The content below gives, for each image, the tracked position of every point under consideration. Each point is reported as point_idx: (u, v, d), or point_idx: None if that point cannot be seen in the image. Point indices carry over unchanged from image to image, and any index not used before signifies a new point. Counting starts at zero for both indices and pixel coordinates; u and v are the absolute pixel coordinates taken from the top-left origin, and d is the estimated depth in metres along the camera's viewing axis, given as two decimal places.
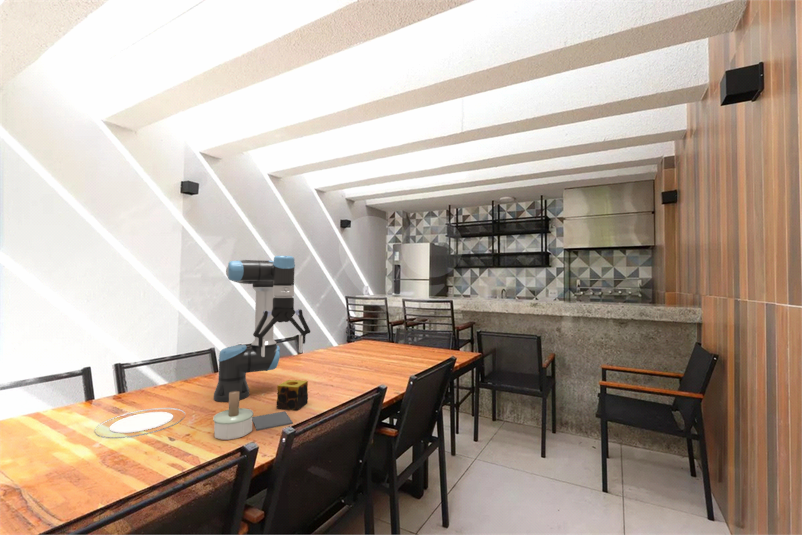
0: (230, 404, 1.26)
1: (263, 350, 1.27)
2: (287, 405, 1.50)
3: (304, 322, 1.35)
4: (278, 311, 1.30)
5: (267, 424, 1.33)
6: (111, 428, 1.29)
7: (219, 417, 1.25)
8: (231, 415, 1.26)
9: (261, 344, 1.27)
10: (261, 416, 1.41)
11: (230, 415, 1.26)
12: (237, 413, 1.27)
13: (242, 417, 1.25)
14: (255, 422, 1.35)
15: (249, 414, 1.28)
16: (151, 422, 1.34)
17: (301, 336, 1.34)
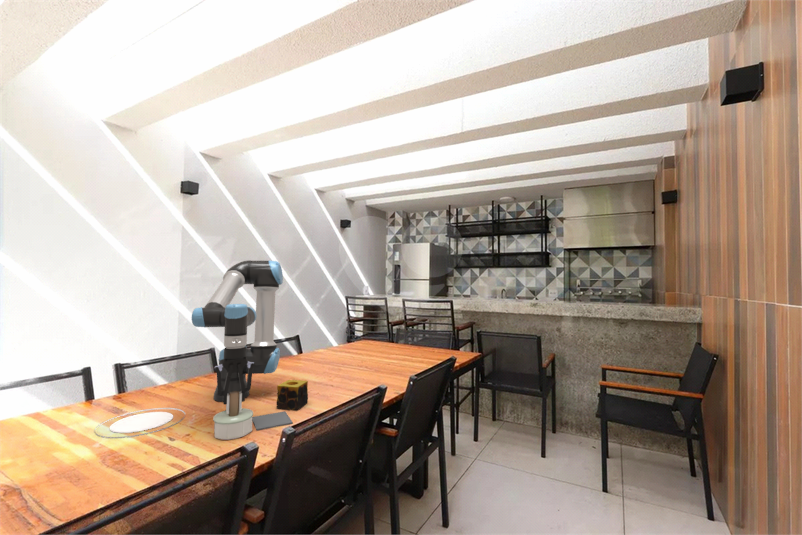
0: (230, 404, 1.26)
1: (227, 407, 1.26)
2: (287, 405, 1.50)
3: (250, 377, 1.30)
4: (228, 361, 1.26)
5: (267, 424, 1.33)
6: (111, 428, 1.29)
7: (219, 417, 1.25)
8: (231, 415, 1.26)
9: (225, 401, 1.26)
10: (261, 416, 1.41)
11: (230, 415, 1.26)
12: (237, 413, 1.27)
13: (242, 417, 1.25)
14: (255, 422, 1.35)
15: (249, 414, 1.28)
16: (151, 422, 1.34)
17: (240, 394, 1.28)
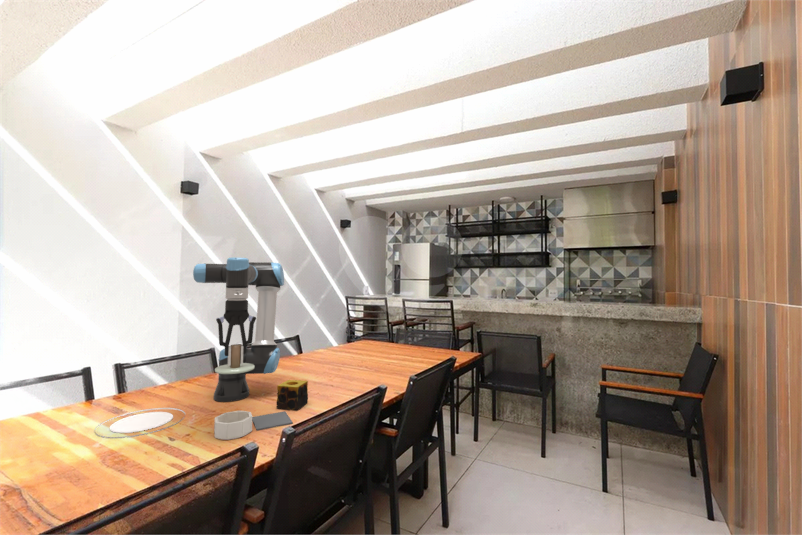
0: (232, 356, 1.27)
1: (229, 359, 1.26)
2: (287, 405, 1.50)
3: (251, 330, 1.30)
4: (229, 313, 1.27)
5: (267, 424, 1.33)
6: (111, 428, 1.29)
7: (221, 368, 1.26)
8: (233, 367, 1.27)
9: (227, 353, 1.27)
10: (261, 416, 1.41)
11: (232, 367, 1.27)
12: (238, 365, 1.28)
13: (243, 369, 1.26)
14: (255, 422, 1.35)
15: (250, 367, 1.29)
16: (151, 422, 1.34)
17: (241, 347, 1.28)
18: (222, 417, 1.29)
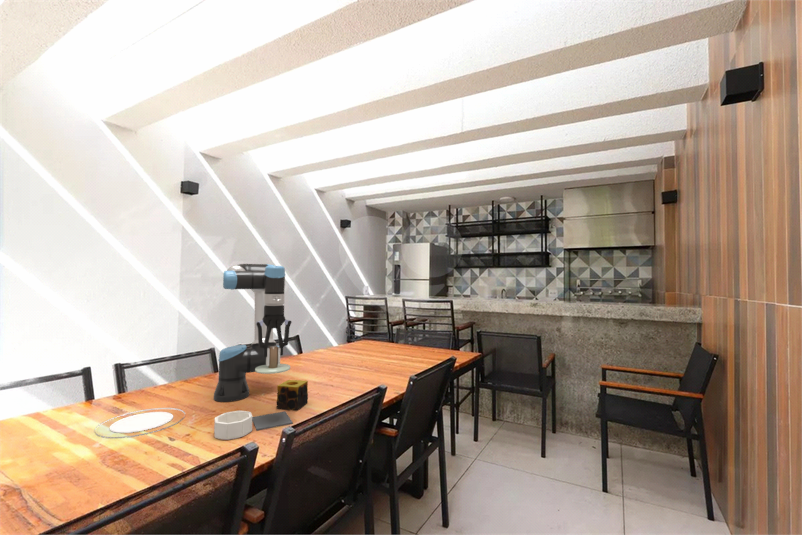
0: (270, 357, 1.37)
1: (268, 360, 1.37)
2: (287, 405, 1.50)
3: (287, 333, 1.41)
4: (268, 317, 1.37)
5: (267, 424, 1.33)
6: (111, 428, 1.29)
7: (260, 369, 1.36)
8: (271, 367, 1.37)
9: (266, 354, 1.37)
10: (261, 416, 1.41)
11: (270, 367, 1.37)
12: (276, 366, 1.38)
13: (281, 369, 1.36)
14: (255, 422, 1.35)
15: (287, 367, 1.39)
16: (151, 422, 1.34)
17: (279, 348, 1.39)
18: (222, 417, 1.29)
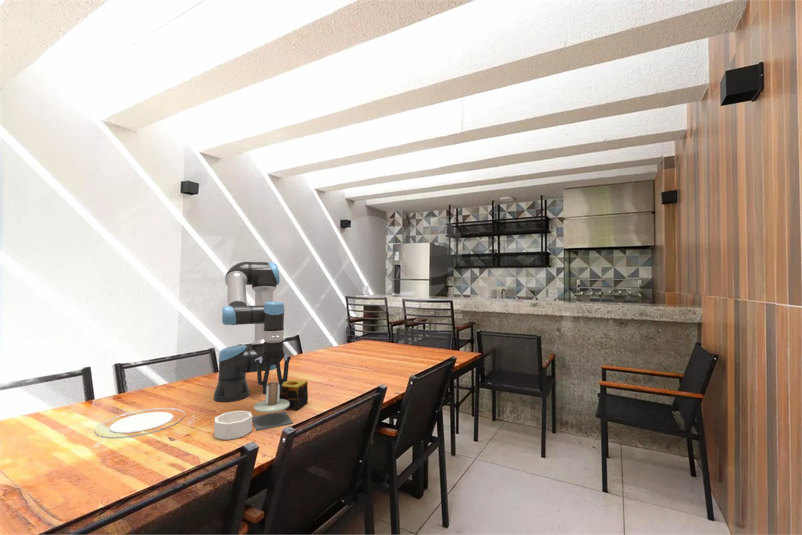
0: (270, 394, 1.36)
1: (267, 397, 1.36)
2: None
3: (286, 369, 1.40)
4: (267, 354, 1.37)
5: (267, 424, 1.33)
6: (111, 428, 1.29)
7: (259, 406, 1.35)
8: (270, 404, 1.36)
9: (265, 391, 1.36)
10: (261, 416, 1.41)
11: (269, 404, 1.36)
12: (275, 403, 1.37)
13: (280, 406, 1.35)
14: (255, 422, 1.35)
15: (286, 403, 1.38)
16: (151, 422, 1.34)
17: (278, 385, 1.38)
18: (222, 417, 1.29)
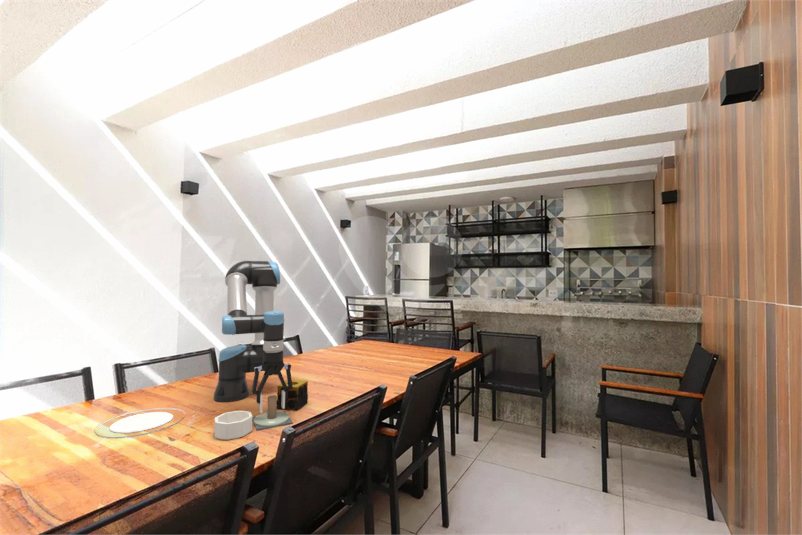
0: (269, 407, 1.36)
1: (261, 406, 1.35)
2: (287, 405, 1.50)
3: (289, 377, 1.41)
4: (267, 364, 1.37)
5: None
6: (111, 428, 1.29)
7: (259, 420, 1.35)
8: (270, 418, 1.36)
9: (259, 400, 1.35)
10: None
11: (269, 418, 1.36)
12: (275, 416, 1.37)
13: (280, 420, 1.35)
14: None
15: (286, 417, 1.38)
16: (151, 422, 1.34)
17: (283, 392, 1.39)
18: (222, 417, 1.29)
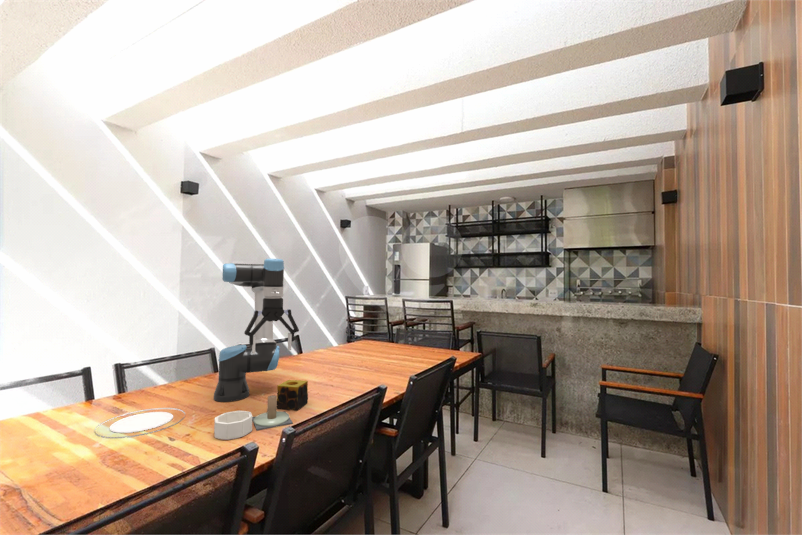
0: (269, 407, 1.36)
1: (253, 347, 1.35)
2: (287, 405, 1.50)
3: (293, 321, 1.43)
4: (268, 311, 1.38)
5: None
6: (111, 428, 1.29)
7: (259, 420, 1.35)
8: (270, 418, 1.36)
9: (252, 342, 1.35)
10: None
11: (269, 418, 1.36)
12: (275, 416, 1.37)
13: (280, 420, 1.35)
14: None
15: (286, 417, 1.38)
16: (151, 422, 1.34)
17: (290, 334, 1.42)
18: (222, 417, 1.29)
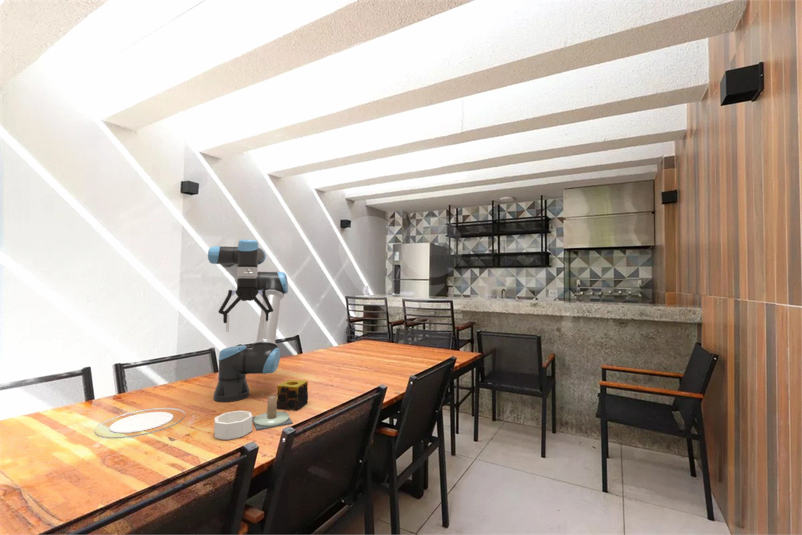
0: (269, 407, 1.36)
1: (227, 326, 1.38)
2: (287, 405, 1.50)
3: (267, 301, 1.46)
4: (242, 290, 1.41)
5: None
6: (111, 428, 1.29)
7: (259, 419, 1.35)
8: (270, 418, 1.36)
9: (225, 320, 1.38)
10: None
11: (269, 418, 1.36)
12: (275, 416, 1.37)
13: (280, 420, 1.35)
14: None
15: (286, 417, 1.38)
16: (151, 422, 1.34)
17: (264, 314, 1.45)
18: (222, 417, 1.29)
